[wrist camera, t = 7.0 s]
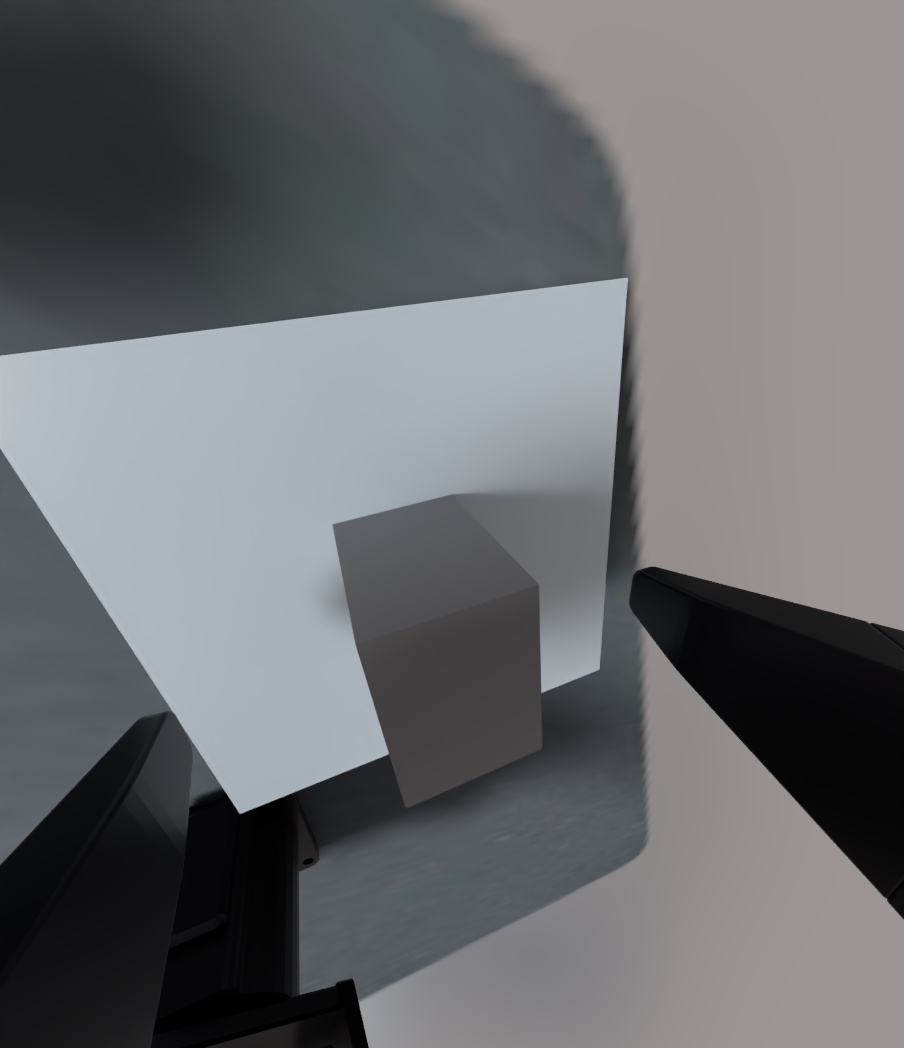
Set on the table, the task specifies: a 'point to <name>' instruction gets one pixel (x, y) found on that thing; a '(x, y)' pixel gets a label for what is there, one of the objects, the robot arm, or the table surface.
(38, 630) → the table surface
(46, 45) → the table surface
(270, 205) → the table surface
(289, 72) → the table surface
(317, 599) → the lid
